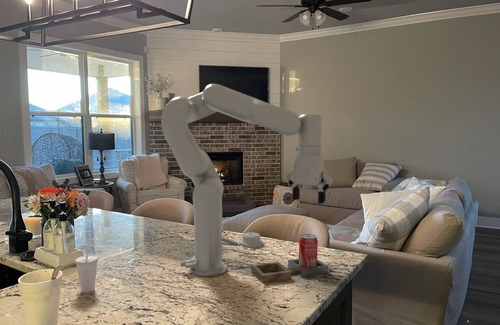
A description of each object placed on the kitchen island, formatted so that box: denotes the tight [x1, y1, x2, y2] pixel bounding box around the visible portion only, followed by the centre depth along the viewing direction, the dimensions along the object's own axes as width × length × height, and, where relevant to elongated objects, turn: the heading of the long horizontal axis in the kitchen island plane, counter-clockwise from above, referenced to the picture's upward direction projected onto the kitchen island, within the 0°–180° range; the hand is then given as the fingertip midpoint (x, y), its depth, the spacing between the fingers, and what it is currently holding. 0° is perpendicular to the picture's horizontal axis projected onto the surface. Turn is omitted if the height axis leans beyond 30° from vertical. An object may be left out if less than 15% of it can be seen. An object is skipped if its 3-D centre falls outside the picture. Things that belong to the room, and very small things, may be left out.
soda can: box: [298, 233, 319, 268], centre depth 128 cm, size 6×6×12 cm
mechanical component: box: [238, 231, 264, 248], centre depth 158 cm, size 10×4×10 cm
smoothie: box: [74, 244, 99, 294], centre depth 111 cm, size 6×6×14 cm
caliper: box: [222, 236, 241, 247], centre depth 160 cm, size 20×1×6 cm, turn 67°
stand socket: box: [250, 261, 292, 284], centre depth 124 cm, size 10×10×2 cm
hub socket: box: [286, 258, 329, 278], centre depth 128 cm, size 14×10×2 cm
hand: (308, 201), depth 127 cm, fingers open, 9 cm apart
